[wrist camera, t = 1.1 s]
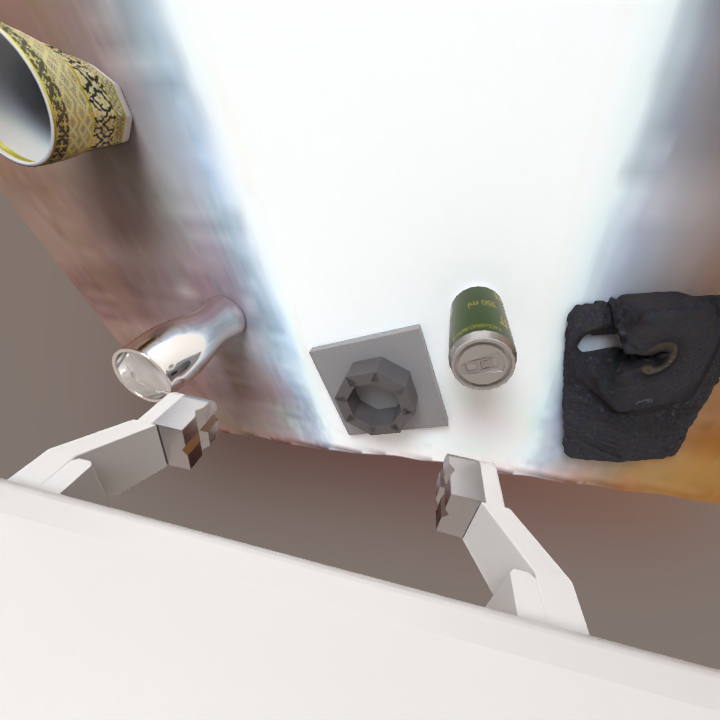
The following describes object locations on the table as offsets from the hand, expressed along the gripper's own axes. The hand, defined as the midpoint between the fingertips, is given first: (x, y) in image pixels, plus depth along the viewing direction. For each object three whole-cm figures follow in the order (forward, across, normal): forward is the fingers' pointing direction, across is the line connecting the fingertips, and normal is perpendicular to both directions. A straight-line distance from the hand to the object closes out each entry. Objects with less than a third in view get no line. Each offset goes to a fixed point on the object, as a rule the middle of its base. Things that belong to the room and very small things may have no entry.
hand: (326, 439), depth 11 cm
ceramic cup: (+30, +35, -10) cm, 47 cm away
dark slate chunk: (+28, -28, +10) cm, 41 cm away
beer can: (+28, -10, +4) cm, 30 cm away
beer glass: (+30, +22, +13) cm, 40 cm away
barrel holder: (+29, -1, +18) cm, 34 cm away
